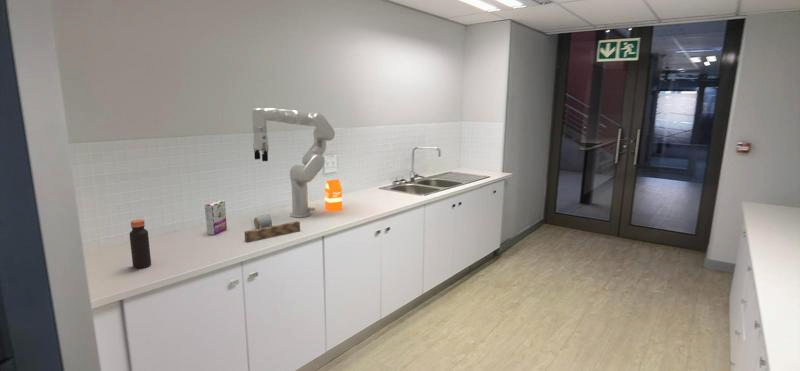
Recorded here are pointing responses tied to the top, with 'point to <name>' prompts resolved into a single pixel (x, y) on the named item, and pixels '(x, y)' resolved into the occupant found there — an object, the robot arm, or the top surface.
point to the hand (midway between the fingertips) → (261, 160)
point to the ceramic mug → (262, 221)
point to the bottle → (139, 245)
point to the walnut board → (271, 231)
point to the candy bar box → (215, 217)
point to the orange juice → (333, 195)
